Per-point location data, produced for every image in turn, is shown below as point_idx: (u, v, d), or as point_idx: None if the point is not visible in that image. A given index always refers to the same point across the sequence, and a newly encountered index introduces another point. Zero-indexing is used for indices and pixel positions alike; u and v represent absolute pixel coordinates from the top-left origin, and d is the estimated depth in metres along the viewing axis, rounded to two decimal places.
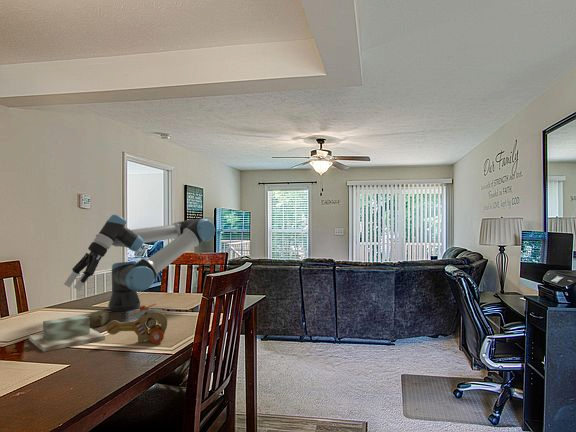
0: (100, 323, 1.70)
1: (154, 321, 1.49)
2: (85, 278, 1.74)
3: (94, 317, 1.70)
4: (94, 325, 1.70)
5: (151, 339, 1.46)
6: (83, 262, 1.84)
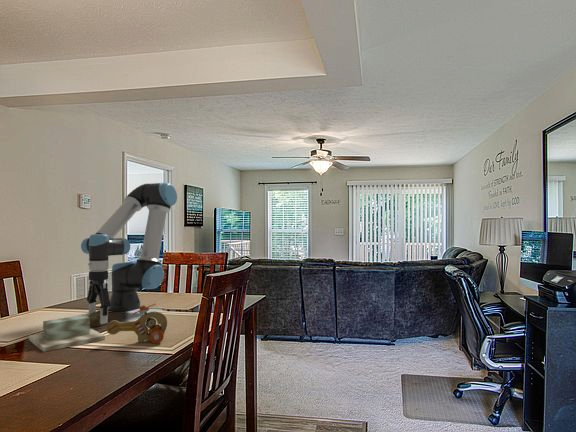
0: (98, 323, 1.70)
1: (154, 321, 1.49)
2: (105, 311, 1.69)
3: (93, 317, 1.70)
4: (92, 325, 1.70)
5: (151, 339, 1.46)
6: (93, 292, 1.77)
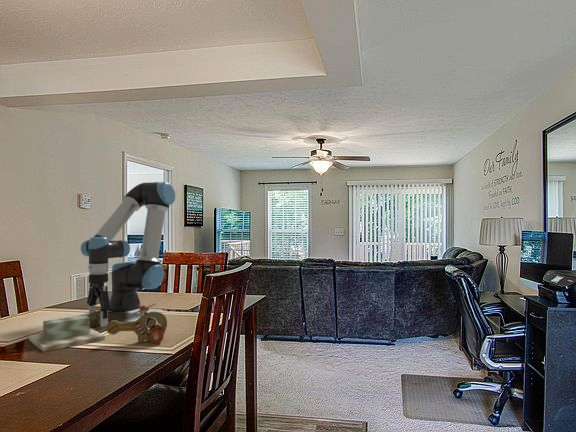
0: (98, 323, 1.70)
1: (154, 321, 1.49)
2: (105, 314, 1.69)
3: (92, 317, 1.70)
4: (92, 325, 1.70)
5: (151, 339, 1.46)
6: (93, 295, 1.77)
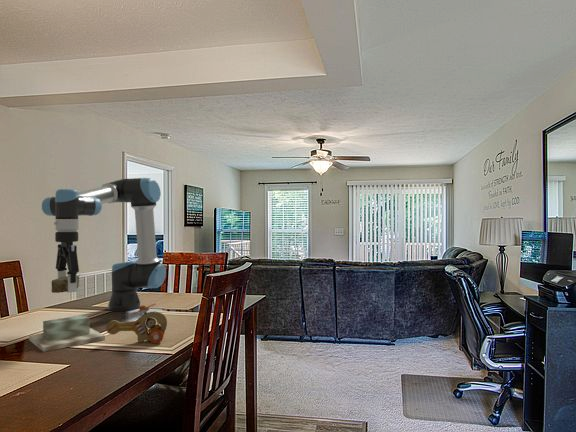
0: (66, 288, 1.47)
1: (154, 321, 1.49)
2: (73, 277, 1.47)
3: (59, 281, 1.47)
4: (58, 290, 1.46)
5: (151, 339, 1.46)
6: (61, 257, 1.54)
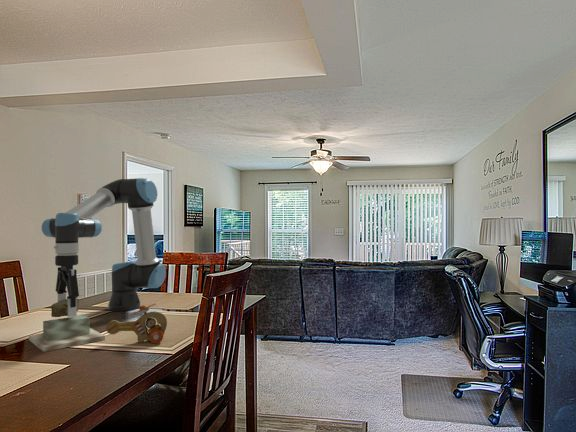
0: (65, 313, 1.47)
1: (154, 321, 1.49)
2: (73, 302, 1.47)
3: (59, 306, 1.46)
4: (58, 315, 1.46)
5: (151, 339, 1.46)
6: (61, 280, 1.54)
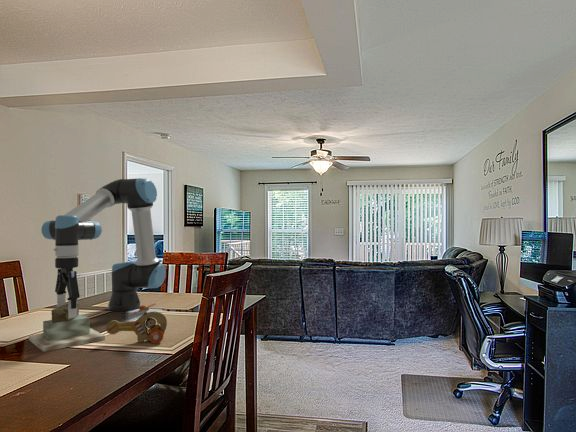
0: (66, 318, 1.47)
1: (154, 321, 1.49)
2: (74, 303, 1.46)
3: (59, 311, 1.47)
4: (59, 320, 1.46)
5: (150, 339, 1.46)
6: (61, 282, 1.54)
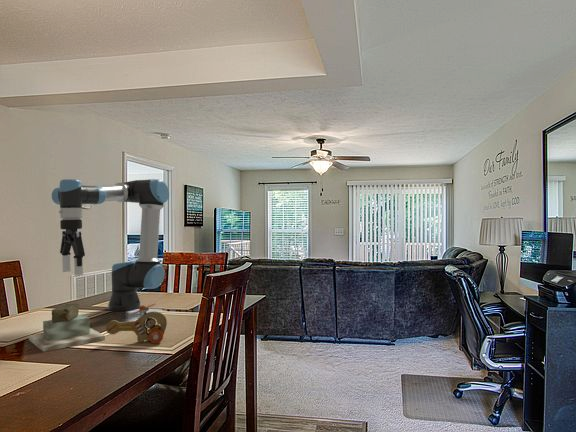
0: (66, 318, 1.47)
1: (153, 321, 1.49)
2: (80, 261, 1.56)
3: (59, 311, 1.47)
4: (59, 320, 1.46)
5: (150, 339, 1.46)
6: (66, 243, 1.63)
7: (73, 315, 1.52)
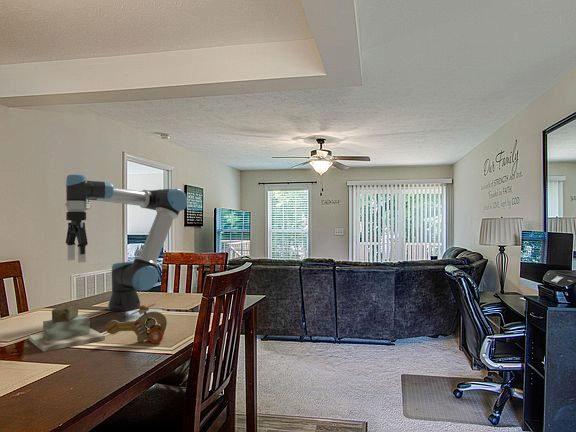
0: (66, 318, 1.47)
1: (153, 321, 1.49)
2: (83, 249, 1.69)
3: (59, 311, 1.47)
4: (59, 320, 1.46)
5: (150, 339, 1.46)
6: (71, 233, 1.77)
7: (73, 315, 1.52)
